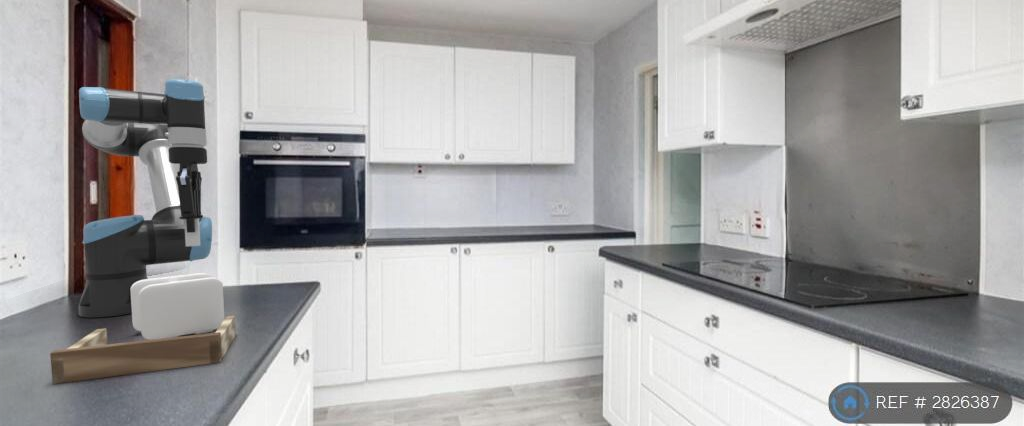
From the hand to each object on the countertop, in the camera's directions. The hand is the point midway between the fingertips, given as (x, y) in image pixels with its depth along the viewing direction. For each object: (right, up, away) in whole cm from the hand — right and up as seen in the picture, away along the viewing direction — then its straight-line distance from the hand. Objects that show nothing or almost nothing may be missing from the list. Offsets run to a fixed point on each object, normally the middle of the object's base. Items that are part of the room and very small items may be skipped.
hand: (193, 245), depth 114 cm
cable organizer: (+6, -18, -13) cm, 22 cm away
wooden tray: (+11, -18, -26) cm, 34 cm away
